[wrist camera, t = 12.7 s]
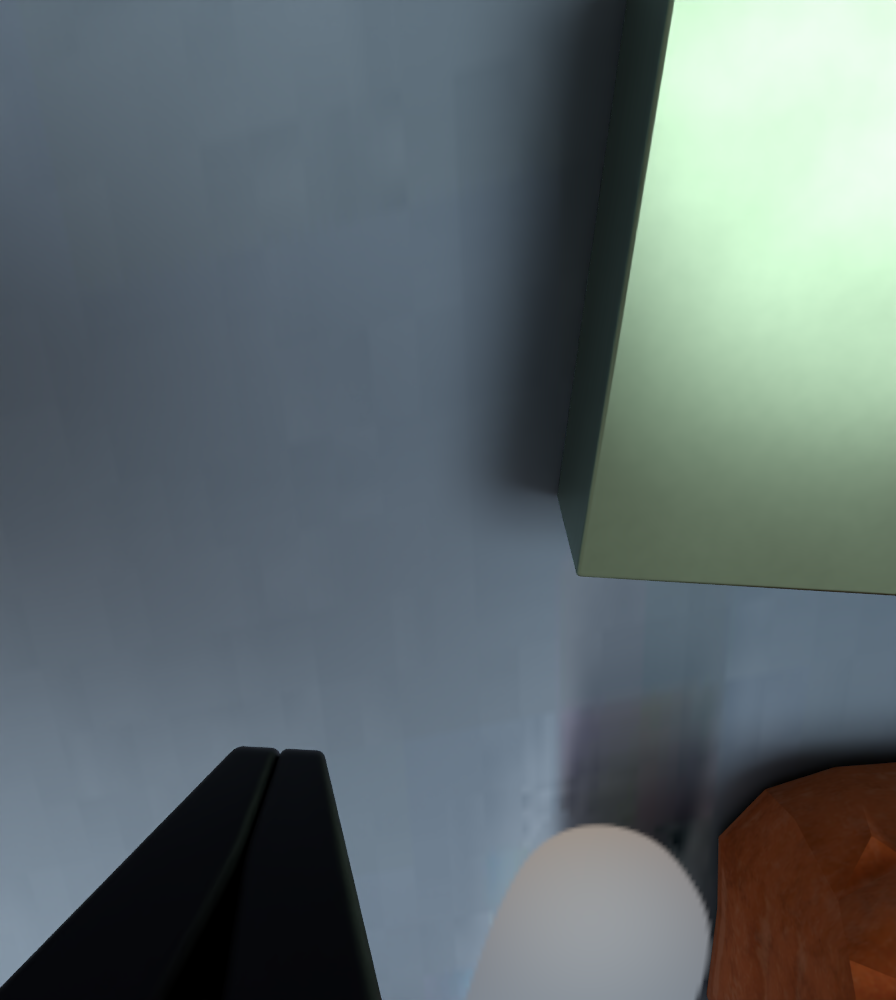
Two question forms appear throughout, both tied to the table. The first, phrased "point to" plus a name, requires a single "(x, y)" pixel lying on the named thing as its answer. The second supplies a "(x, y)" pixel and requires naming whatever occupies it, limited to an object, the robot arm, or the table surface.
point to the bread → (810, 891)
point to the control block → (742, 303)
